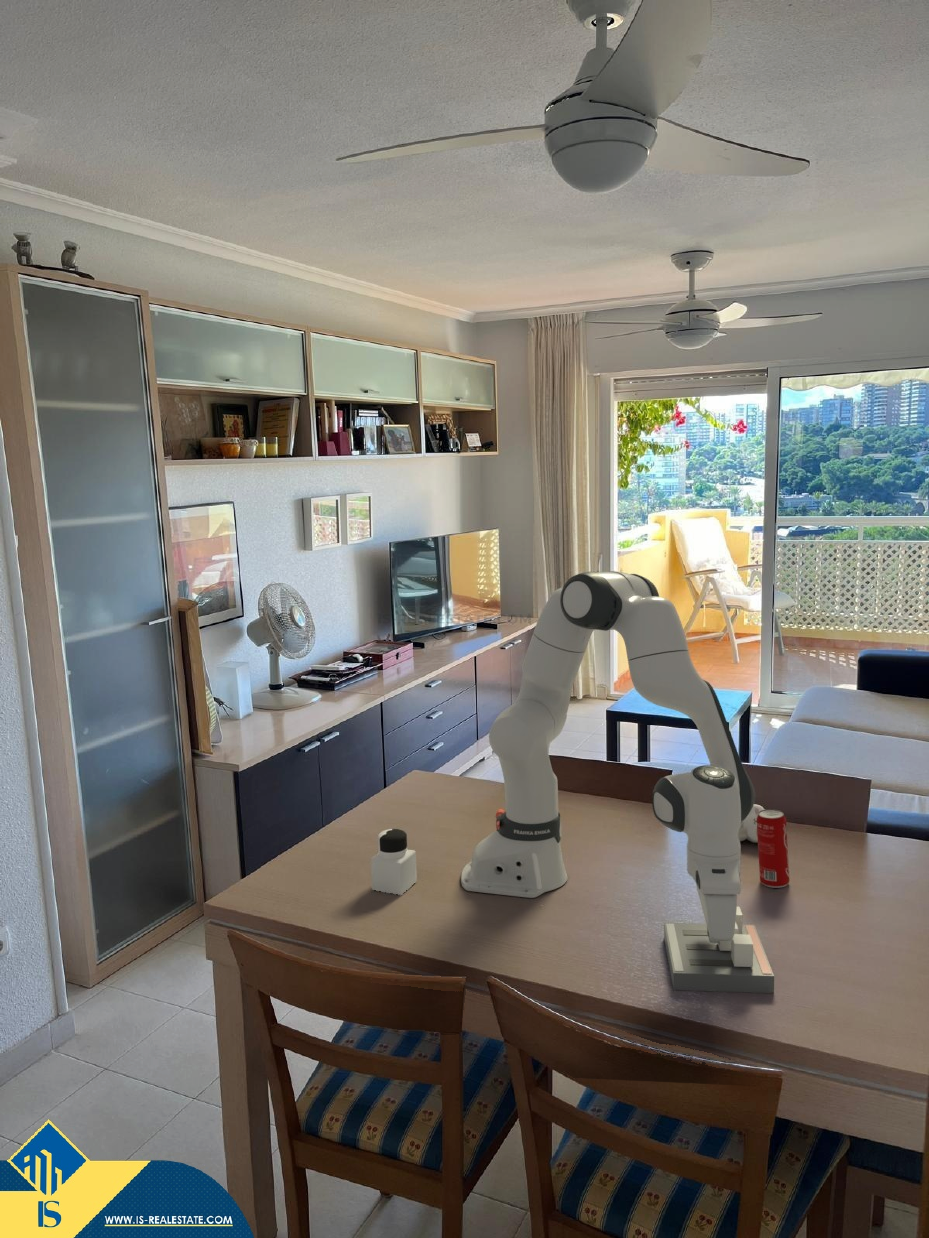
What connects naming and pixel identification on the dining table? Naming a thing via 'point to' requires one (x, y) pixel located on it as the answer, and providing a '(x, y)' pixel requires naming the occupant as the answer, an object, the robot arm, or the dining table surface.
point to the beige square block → (727, 942)
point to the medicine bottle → (393, 863)
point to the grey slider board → (713, 962)
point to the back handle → (739, 920)
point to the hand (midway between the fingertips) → (713, 938)
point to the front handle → (742, 950)
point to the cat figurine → (750, 825)
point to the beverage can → (772, 848)
